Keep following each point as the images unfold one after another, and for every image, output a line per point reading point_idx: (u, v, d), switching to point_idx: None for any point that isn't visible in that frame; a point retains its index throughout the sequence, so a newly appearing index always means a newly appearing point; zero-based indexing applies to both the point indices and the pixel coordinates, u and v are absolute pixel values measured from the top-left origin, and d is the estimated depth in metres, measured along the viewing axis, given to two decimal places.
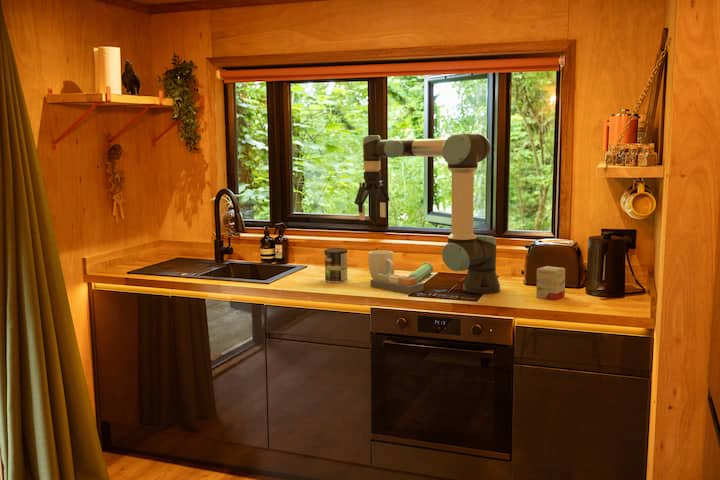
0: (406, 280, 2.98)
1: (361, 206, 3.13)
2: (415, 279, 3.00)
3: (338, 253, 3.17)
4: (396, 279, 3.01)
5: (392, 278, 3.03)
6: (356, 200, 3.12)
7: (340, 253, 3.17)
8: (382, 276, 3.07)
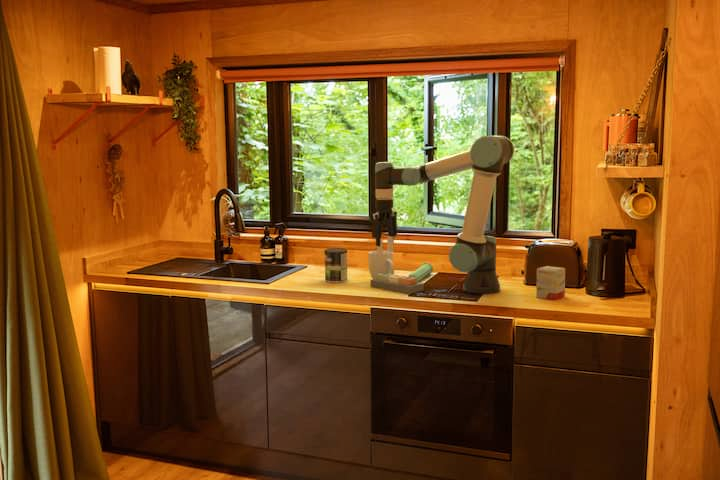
0: (406, 280, 2.98)
1: (379, 239, 3.03)
2: (415, 279, 3.00)
3: (338, 253, 3.17)
4: (396, 279, 3.01)
5: (392, 278, 3.03)
6: (373, 234, 3.02)
7: (340, 253, 3.17)
8: (382, 276, 3.07)
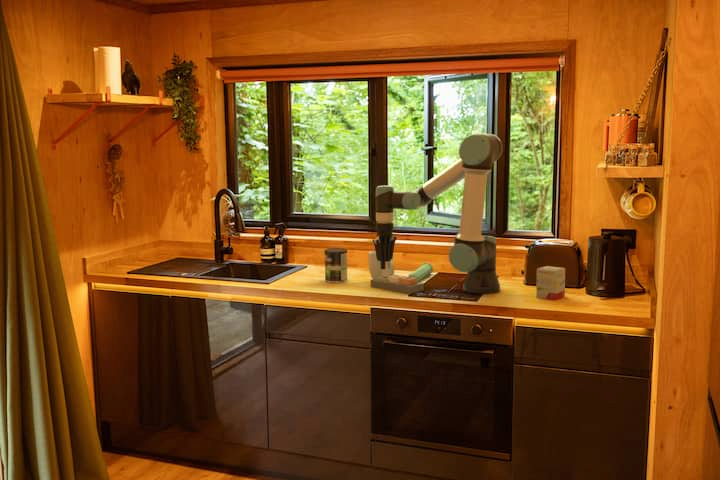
0: (406, 280, 2.98)
1: (384, 263, 3.07)
2: (415, 279, 3.00)
3: (338, 253, 3.17)
4: (396, 279, 3.01)
5: (392, 278, 3.03)
6: (378, 258, 3.05)
7: (340, 253, 3.17)
8: (382, 279, 3.07)
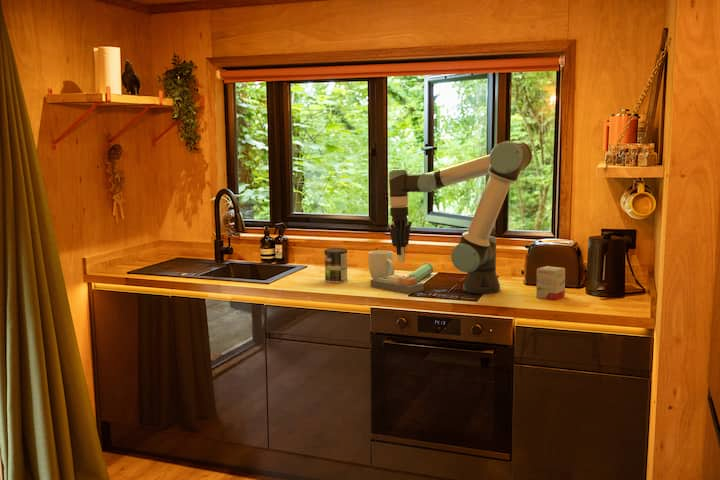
0: (406, 280, 2.98)
1: (399, 248, 3.00)
2: (415, 279, 3.00)
3: (338, 253, 3.17)
4: (396, 279, 3.01)
5: (392, 278, 3.03)
6: (393, 243, 2.99)
7: (340, 253, 3.17)
8: (382, 280, 3.07)
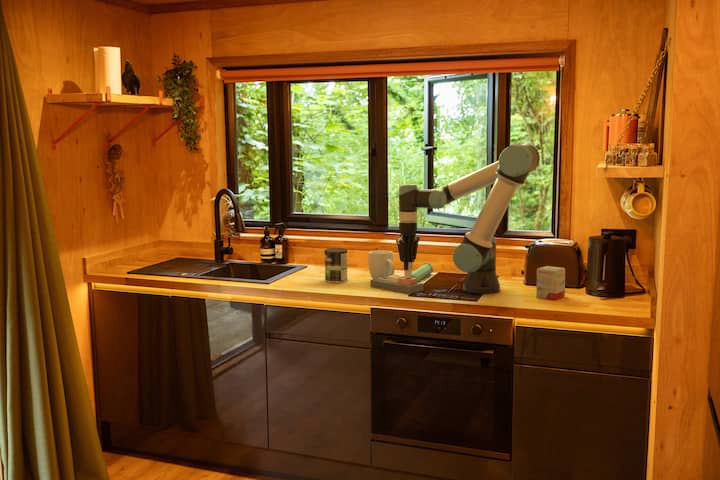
0: (406, 281, 2.98)
1: (407, 264, 2.98)
2: (415, 280, 3.00)
3: (338, 253, 3.17)
4: (396, 279, 3.01)
5: (392, 278, 3.03)
6: (401, 258, 2.96)
7: (340, 253, 3.17)
8: (382, 280, 3.07)
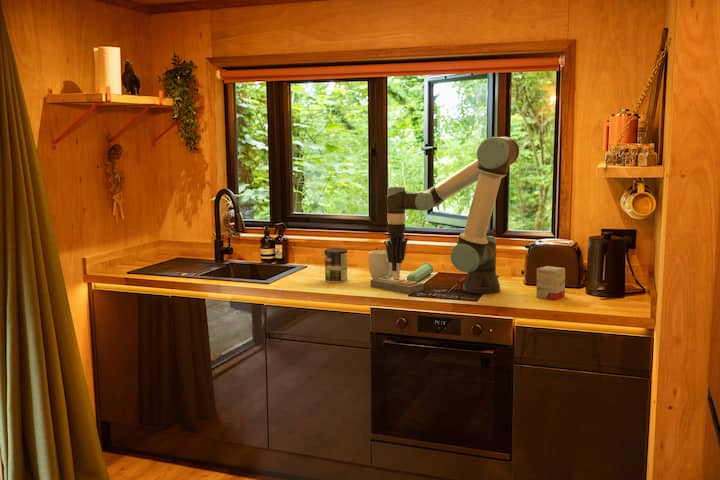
0: (406, 284, 2.98)
1: (395, 264, 3.02)
2: (415, 283, 3.00)
3: (338, 253, 3.17)
4: (396, 282, 3.02)
5: (392, 281, 3.03)
6: (389, 259, 3.01)
7: (340, 253, 3.17)
8: (382, 280, 3.07)
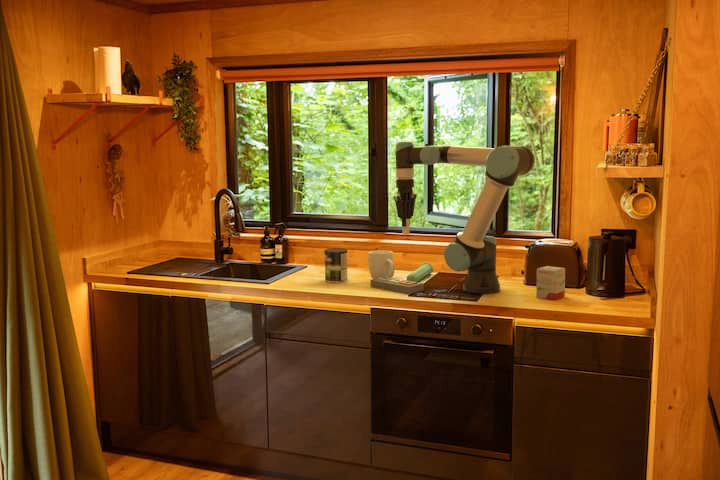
0: (406, 284, 2.98)
1: (405, 220, 3.03)
2: (415, 283, 3.00)
3: (338, 253, 3.17)
4: None
5: (392, 282, 3.03)
6: (399, 215, 3.02)
7: (340, 253, 3.17)
8: (382, 280, 3.07)
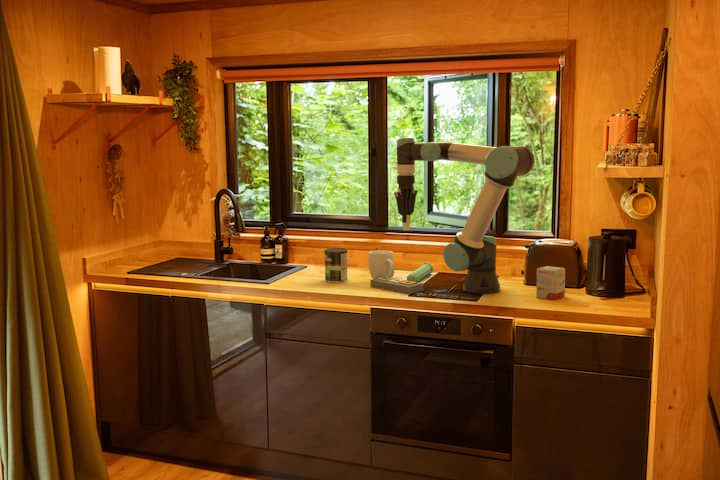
0: (406, 284, 2.98)
1: (405, 216, 3.04)
2: (415, 283, 3.00)
3: (338, 253, 3.17)
4: None
5: (392, 282, 3.03)
6: (399, 211, 3.03)
7: (340, 253, 3.17)
8: (382, 280, 3.07)
